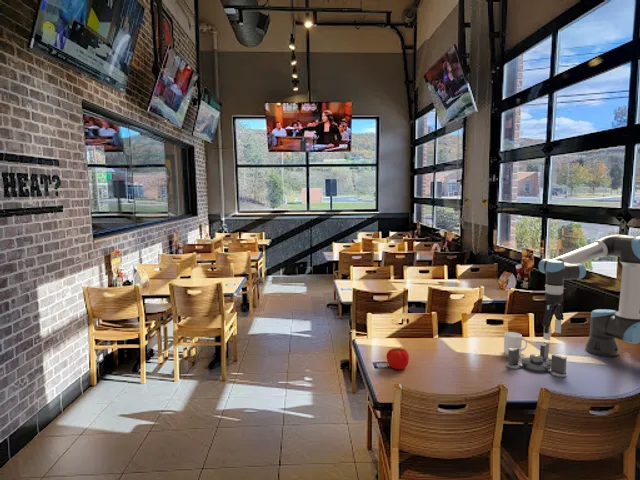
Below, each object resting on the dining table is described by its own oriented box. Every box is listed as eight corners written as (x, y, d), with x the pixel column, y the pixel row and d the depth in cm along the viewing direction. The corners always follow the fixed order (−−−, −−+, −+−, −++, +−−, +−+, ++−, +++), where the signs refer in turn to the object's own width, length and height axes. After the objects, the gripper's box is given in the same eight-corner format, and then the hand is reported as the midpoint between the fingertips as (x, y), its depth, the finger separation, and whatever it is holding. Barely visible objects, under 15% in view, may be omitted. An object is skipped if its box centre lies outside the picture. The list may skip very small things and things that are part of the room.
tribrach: (548, 358, 228) (548, 347, 227) (568, 377, 204) (569, 365, 204) (499, 357, 230) (499, 346, 230) (514, 376, 207) (514, 364, 206)
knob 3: (550, 369, 210) (551, 353, 209) (553, 368, 211) (554, 352, 210) (563, 374, 205) (564, 357, 204) (565, 373, 206) (566, 356, 205)
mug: (530, 356, 231) (531, 337, 230) (507, 356, 231) (508, 337, 230) (523, 350, 239) (523, 331, 238) (501, 350, 240) (501, 332, 239)
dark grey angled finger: (514, 361, 221) (515, 346, 220) (518, 362, 219) (519, 347, 218) (507, 364, 217) (508, 348, 216) (511, 365, 216) (512, 349, 215)
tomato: (410, 363, 224) (410, 344, 223) (407, 373, 212) (407, 353, 211) (388, 361, 227) (388, 342, 226) (384, 371, 215) (384, 351, 214)
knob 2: (544, 360, 222) (544, 344, 221) (539, 359, 223) (540, 343, 222) (548, 357, 226) (549, 341, 225) (544, 355, 227) (544, 340, 226)
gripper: (555, 287, 218) (553, 328, 220) (535, 296, 201) (533, 340, 204) (571, 289, 212) (570, 331, 215) (552, 299, 196) (550, 344, 198)
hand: (552, 336), depth 209 cm, fingers open, 13 cm apart
